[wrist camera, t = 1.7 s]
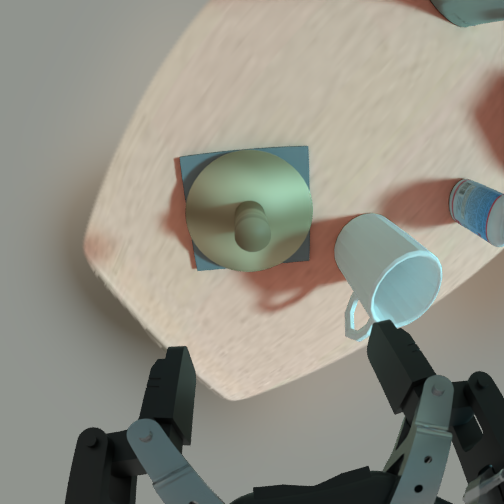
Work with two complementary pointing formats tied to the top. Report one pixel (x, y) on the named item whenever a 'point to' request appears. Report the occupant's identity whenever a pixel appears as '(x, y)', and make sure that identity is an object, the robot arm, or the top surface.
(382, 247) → the mug
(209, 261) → the mat
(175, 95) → the top surface
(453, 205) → the pill bottle
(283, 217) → the lid
